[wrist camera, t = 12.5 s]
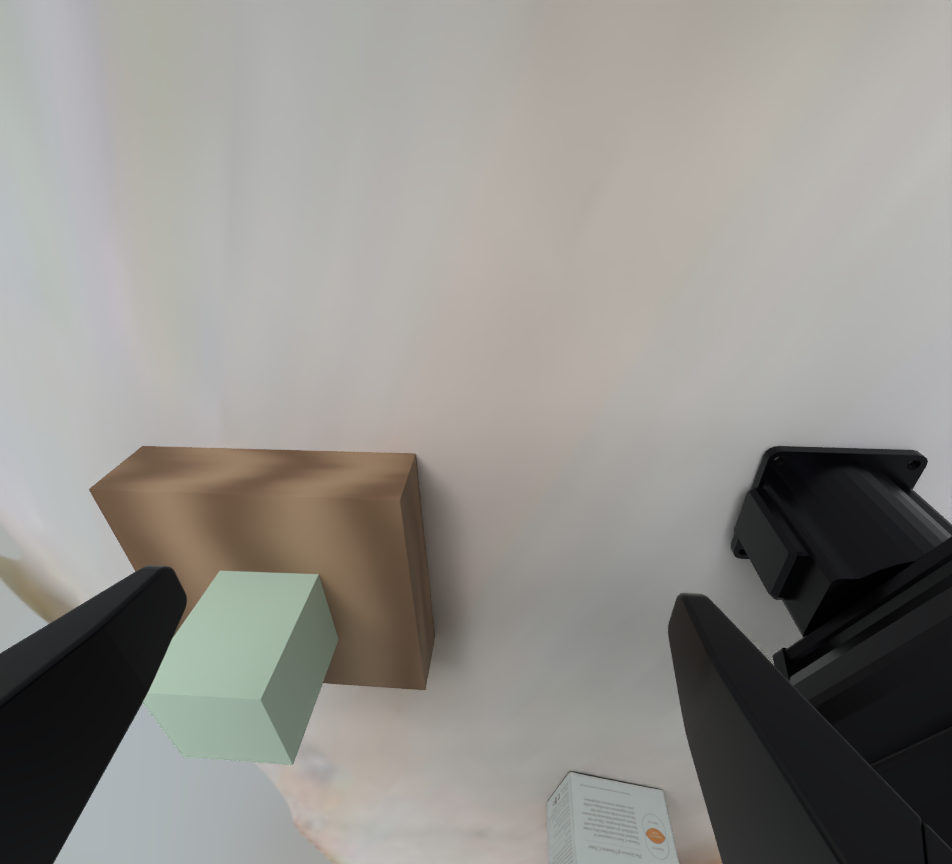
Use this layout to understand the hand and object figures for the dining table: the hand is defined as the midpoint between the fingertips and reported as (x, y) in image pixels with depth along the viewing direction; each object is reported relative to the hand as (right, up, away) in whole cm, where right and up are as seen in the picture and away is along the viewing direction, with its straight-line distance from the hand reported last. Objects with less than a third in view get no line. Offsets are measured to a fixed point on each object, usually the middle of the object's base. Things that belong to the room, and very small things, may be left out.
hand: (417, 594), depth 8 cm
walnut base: (-9, -4, +19) cm, 21 cm away
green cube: (-9, -6, +16) cm, 19 cm away
